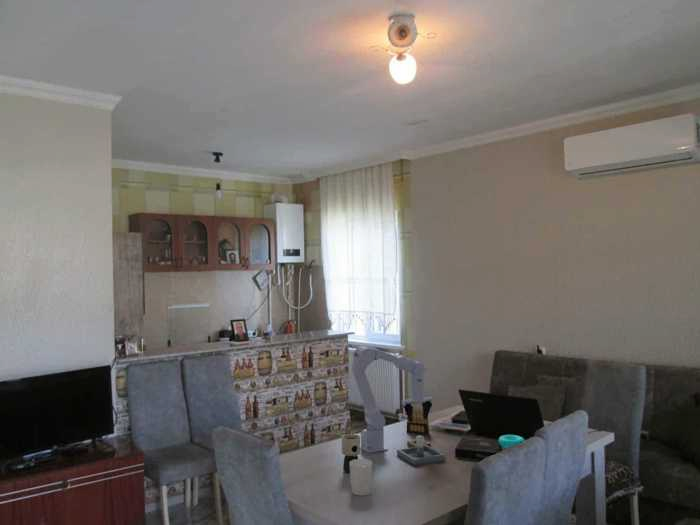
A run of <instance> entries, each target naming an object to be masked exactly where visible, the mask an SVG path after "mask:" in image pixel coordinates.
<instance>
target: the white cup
mask: <svg viewBox="0 0 700 525" xmlns="http://www.w3.org/2000/svg"><path fill="white" fill-rule="evenodd" d="M349 464H350V472H349V477H350V485H351V486H350V487H351V494H353V495H356V496H367V495H369V494H371V493H372V484H373V483H372V482H373V461H372V460H370V459H366V458H358V459H355V460H352V461H350V463H349Z"/></svg>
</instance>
